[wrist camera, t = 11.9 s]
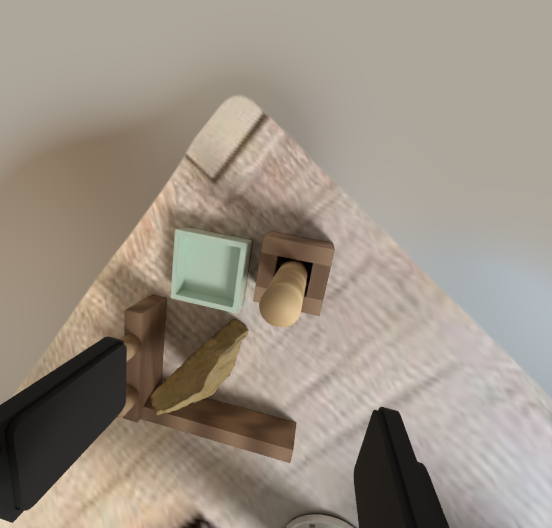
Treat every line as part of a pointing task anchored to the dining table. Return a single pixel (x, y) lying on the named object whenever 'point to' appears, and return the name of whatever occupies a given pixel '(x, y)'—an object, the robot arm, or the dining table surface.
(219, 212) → the dining table surface
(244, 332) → the rock
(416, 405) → the dining table surface
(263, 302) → the dowel
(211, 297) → the tray
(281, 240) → the holder
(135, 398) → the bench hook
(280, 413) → the dining table surface
